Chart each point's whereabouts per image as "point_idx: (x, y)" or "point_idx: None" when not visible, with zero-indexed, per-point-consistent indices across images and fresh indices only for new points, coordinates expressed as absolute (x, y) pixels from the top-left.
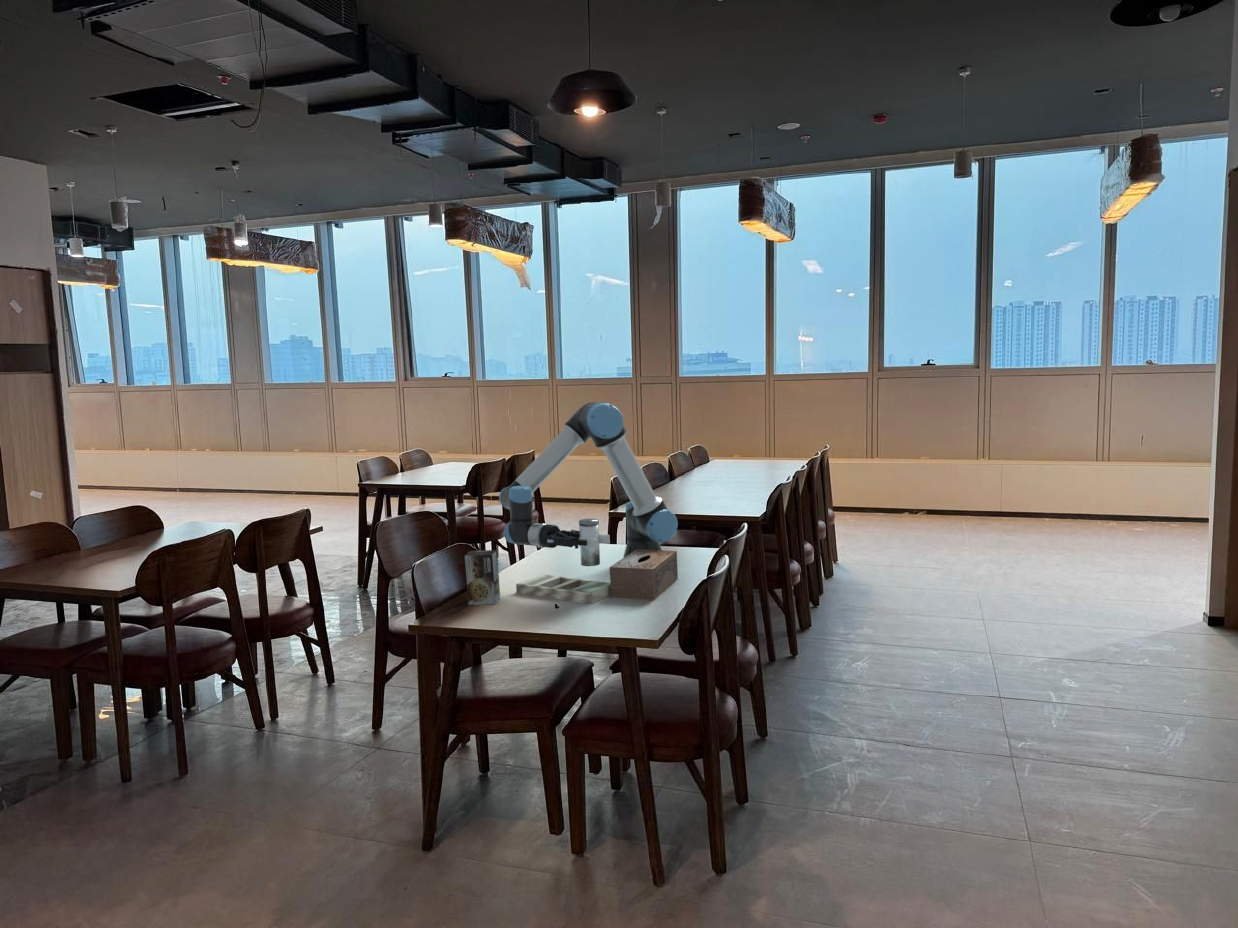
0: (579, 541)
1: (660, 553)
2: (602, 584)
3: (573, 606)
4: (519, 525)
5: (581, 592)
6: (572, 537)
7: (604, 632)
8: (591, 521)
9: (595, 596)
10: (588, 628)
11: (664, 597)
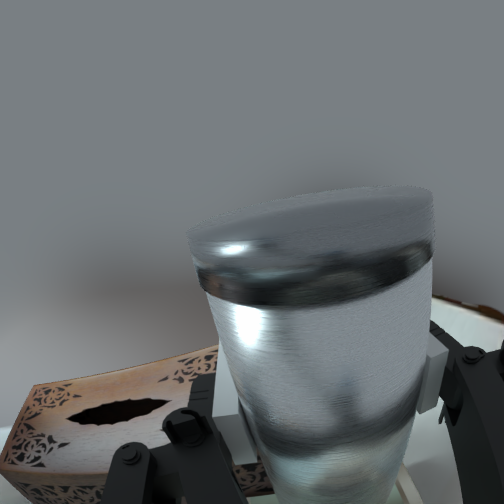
0: (453, 344)
1: (51, 403)
2: None
3: (449, 475)
4: None
5: (409, 492)
6: (493, 397)
7: (455, 318)
8: (334, 191)
9: None
10: (473, 337)
11: None
